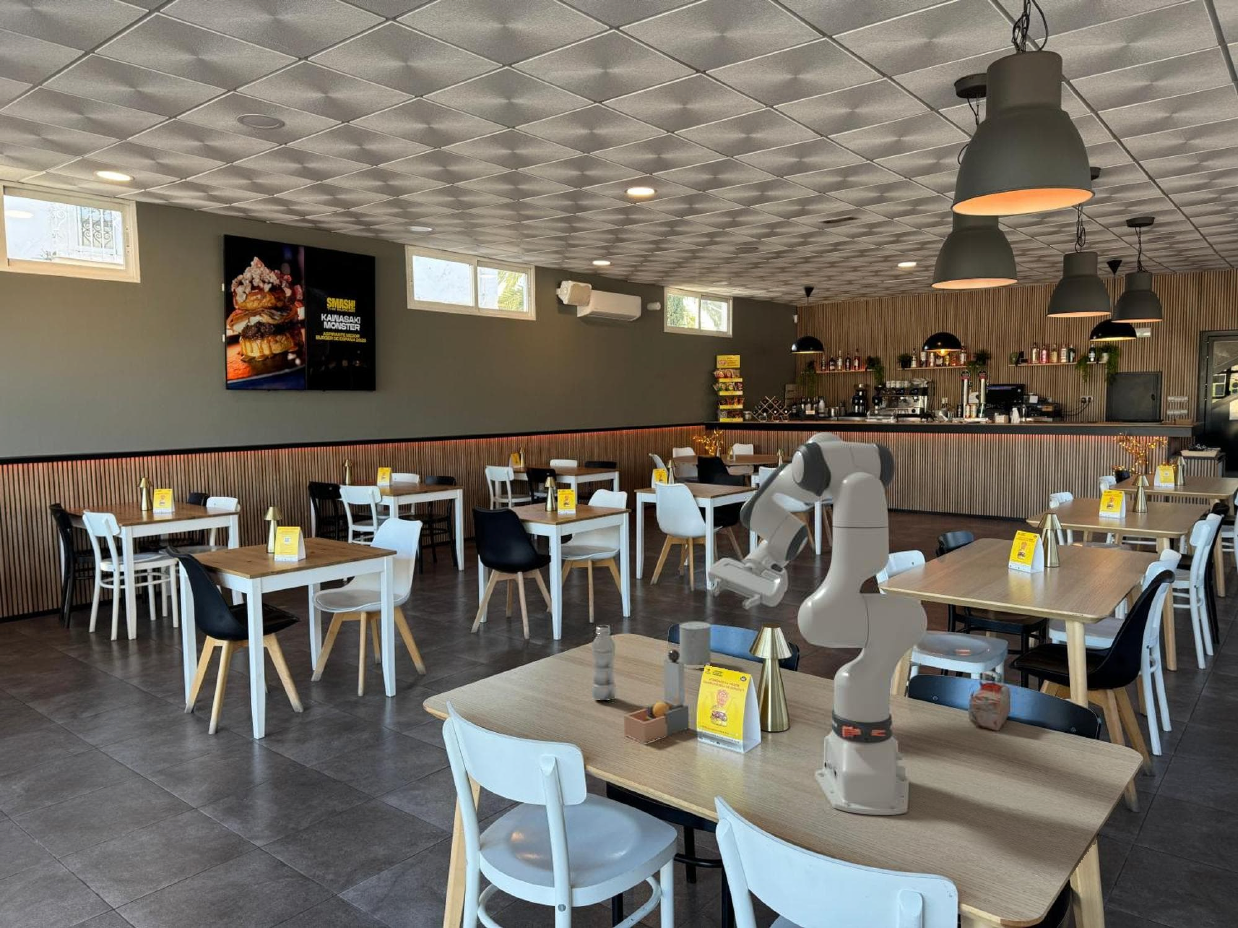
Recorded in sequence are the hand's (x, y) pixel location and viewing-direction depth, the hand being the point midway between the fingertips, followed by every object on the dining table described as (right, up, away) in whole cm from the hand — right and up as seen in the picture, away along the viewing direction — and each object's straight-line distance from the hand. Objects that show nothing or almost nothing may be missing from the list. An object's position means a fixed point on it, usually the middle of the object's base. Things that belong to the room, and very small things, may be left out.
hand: (728, 599), depth 207 cm
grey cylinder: (-4, -28, +47) cm, 55 cm away
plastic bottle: (-31, -30, +17) cm, 46 cm away
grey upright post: (-14, -27, -4) cm, 31 cm away
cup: (-21, -31, -9) cm, 39 cm away
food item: (+64, -30, -3) cm, 70 cm away
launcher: (-15, -31, -5) cm, 35 cm away
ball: (-17, -26, -6) cm, 32 cm away
